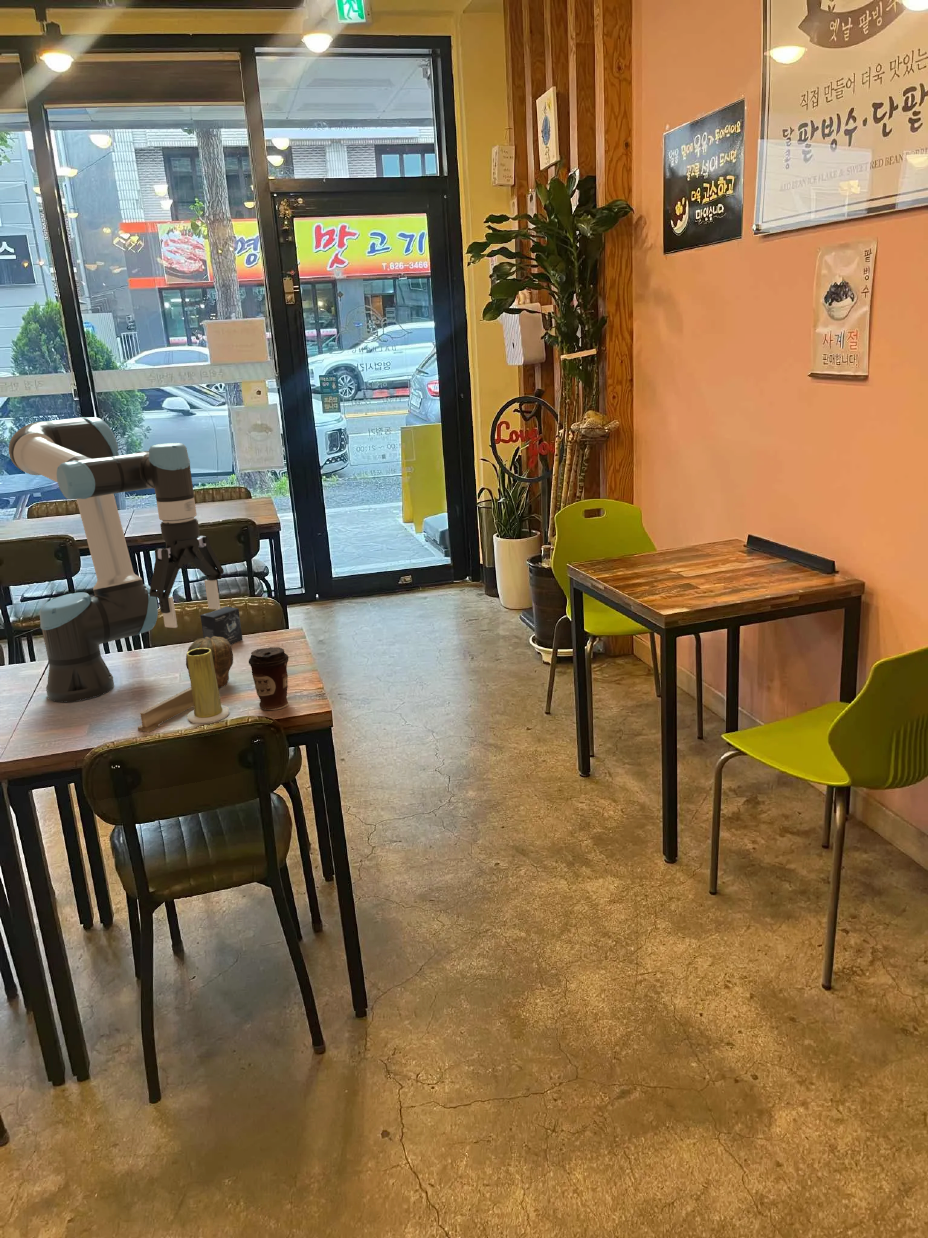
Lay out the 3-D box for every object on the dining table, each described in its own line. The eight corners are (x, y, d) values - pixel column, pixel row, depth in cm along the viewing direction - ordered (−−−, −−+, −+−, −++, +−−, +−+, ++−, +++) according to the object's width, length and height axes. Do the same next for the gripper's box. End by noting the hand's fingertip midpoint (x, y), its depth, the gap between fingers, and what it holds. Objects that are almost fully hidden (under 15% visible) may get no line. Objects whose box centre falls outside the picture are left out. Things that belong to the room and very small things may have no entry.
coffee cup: (273, 715, 195) (266, 659, 192) (246, 709, 200) (238, 654, 196) (300, 702, 202) (294, 647, 198) (273, 696, 207) (267, 643, 203)
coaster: (178, 720, 196) (178, 718, 196) (206, 705, 204) (206, 703, 203) (211, 725, 192) (210, 723, 192) (238, 710, 200) (237, 707, 200)
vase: (196, 720, 194) (186, 658, 190) (192, 710, 199) (182, 650, 195) (224, 714, 196) (215, 653, 192) (220, 705, 202) (210, 645, 197)
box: (218, 650, 243) (213, 617, 240) (204, 647, 246) (199, 614, 243) (243, 640, 250) (239, 607, 247) (229, 638, 253) (225, 605, 250)
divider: (138, 730, 192) (135, 713, 191) (198, 698, 208) (195, 682, 207) (148, 732, 191) (145, 715, 189) (208, 700, 207) (205, 683, 206)
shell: (224, 693, 210) (217, 645, 207) (182, 692, 213) (174, 645, 209) (244, 677, 220) (238, 630, 217) (203, 676, 223) (196, 630, 219)
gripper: (148, 532, 173) (165, 636, 179) (231, 508, 194) (244, 602, 200) (119, 531, 176) (137, 633, 182) (204, 508, 197) (218, 600, 204)
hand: (193, 617), depth 191 cm, fingers open, 13 cm apart
